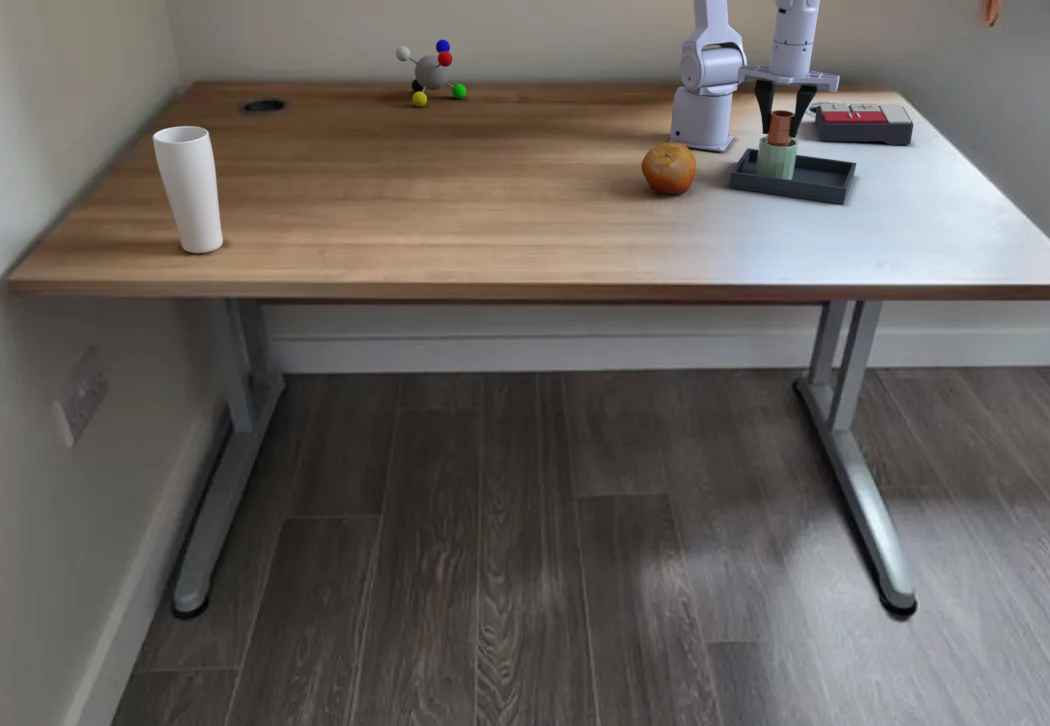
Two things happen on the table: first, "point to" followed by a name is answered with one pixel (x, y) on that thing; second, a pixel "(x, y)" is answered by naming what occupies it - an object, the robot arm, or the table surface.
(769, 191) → the tray
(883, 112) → the grey and red box
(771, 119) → the brown cup
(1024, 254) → the table surface
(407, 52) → the molecular model
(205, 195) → the drinking glass
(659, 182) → the fruit
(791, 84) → the robot arm
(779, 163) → the green cup
